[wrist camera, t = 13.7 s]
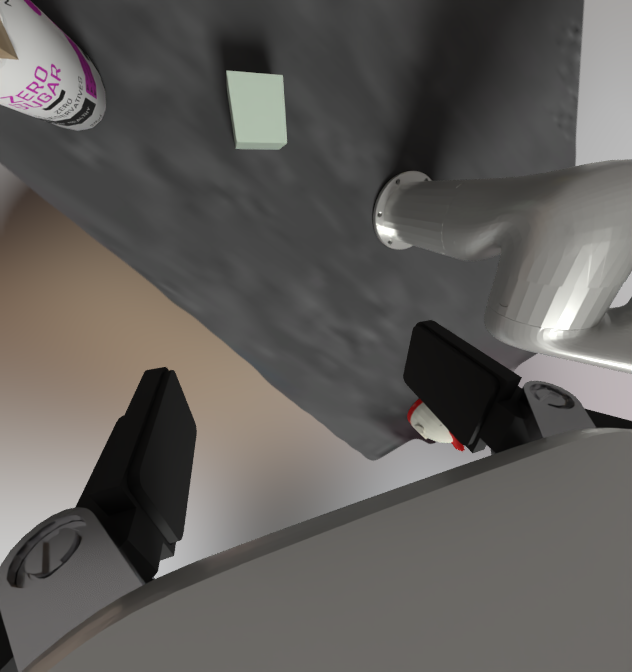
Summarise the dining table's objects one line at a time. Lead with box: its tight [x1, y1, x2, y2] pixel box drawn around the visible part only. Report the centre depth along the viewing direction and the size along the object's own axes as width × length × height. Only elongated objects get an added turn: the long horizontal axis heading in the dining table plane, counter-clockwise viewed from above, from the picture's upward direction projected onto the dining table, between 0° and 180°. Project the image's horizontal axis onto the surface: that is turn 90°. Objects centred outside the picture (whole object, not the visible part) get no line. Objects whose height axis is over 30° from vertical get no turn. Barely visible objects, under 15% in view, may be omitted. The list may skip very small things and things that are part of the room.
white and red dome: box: [407, 399, 464, 451], centre depth 73 cm, size 14×14×15 cm
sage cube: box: [226, 70, 287, 150], centre depth 31 cm, size 6×6×6 cm
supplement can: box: [0, 0, 106, 131], centre depth 21 cm, size 8×8×15 cm
